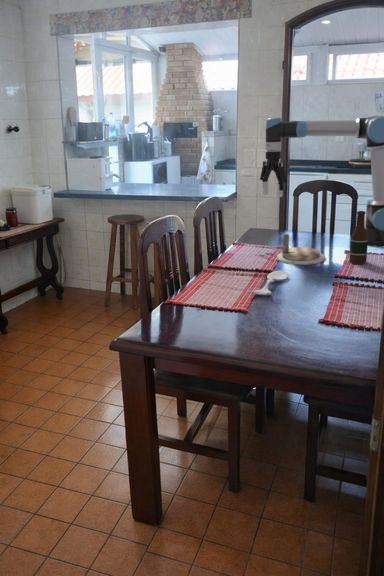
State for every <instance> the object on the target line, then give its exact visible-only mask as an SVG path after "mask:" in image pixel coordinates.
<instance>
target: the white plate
mask: <svg viewBox="0 0 384 576" xmlns="http://www.w3.org/2000/svg"><path fill="white" fill-rule="evenodd" d="M277 258H278V260H279V261H278V260H277V261H278V262H281V263H283V264H288V265H294V266H295V265H296V266H308V265H309V266H311V265H317V264H321V263H323V262H324V261H325V260H326V256H325V255H324V254H323V253H321V252H320V257H319V258H318V259H315V260H310V261H294V260H288V259H285V258H283V257H282V252H280V253H278V254H277V255H276V259H277Z"/></svg>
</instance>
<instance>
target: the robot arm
mask: <svg viewBox="0 0 384 576" xmlns="http://www.w3.org/2000/svg"><path fill="white" fill-rule="evenodd" d="M305 137H354V138H355V139H364V140H366V148H367V149H368V150H370V165H371V166H370V167H371V169H370V170H371V185H372V186H371V187H372V199H369V200H367V202H366V205H365V206H366V207H365V208H366V211H365V230H366V231H367V234H368V246H371V247H383V246H384V115H374V116H368V117H362V118H361V117H357V118H356V119H355V120H353V119H352V120H350V119H348V120H347V119H346V120H345V119H344V120H340V119H339V120H291V121H283V120H282V118H281V117H270V118H267V119H266V121H265V151H266V152H265V159H266V160H263V161H262V167H261V173H260V177H259V180H260V181H262V189H263V190H262V191H263V193H262V195H263V196H265V195H269V178H270V175H271V173H272V171H273V172H274V173H275V174H274V175H275V176H276V179H277V198H282V197H283V195H284V194H283V193H284V185H285V183H287V176H286V171H285V170H286V169H285V162H281V161H280V159H282V151H281V150H282V139H288V138H289V139H296V138H298V139H301V138H305Z"/></svg>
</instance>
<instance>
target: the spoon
mask: <svg viewBox="0 0 384 576" xmlns="http://www.w3.org/2000/svg"><path fill="white" fill-rule="evenodd" d="M289 276H290V275H289V273H288V272H287V271H284V270H275V271H272V272H269V274H267V275H266V278H267V280H266V282H265V284H264V286H263V288H260V289H254V290H251V289H250V290H248V294H251V295H252V294H253V295H257V296H258V295H259V296H270V295H271V294H272V291H271V290H269V286H270V284H271V283H274V282H280V281H285V280H286V279H288V278H289Z"/></svg>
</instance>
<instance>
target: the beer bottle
mask: <svg viewBox="0 0 384 576" xmlns="http://www.w3.org/2000/svg"><path fill="white" fill-rule="evenodd" d="M356 215H357V216H356V222H355V223H356V224H355V227H354V230H353V231H352V233H351V235H350V246H349V263H350V262H351V264H352V263H353V265H359V264H360V265H365V264H366V263H367V260H368V259H367V258H368V247H369V245H368V234H367V231H366V230H365V224H366V211H365V210H357V212H356Z"/></svg>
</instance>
